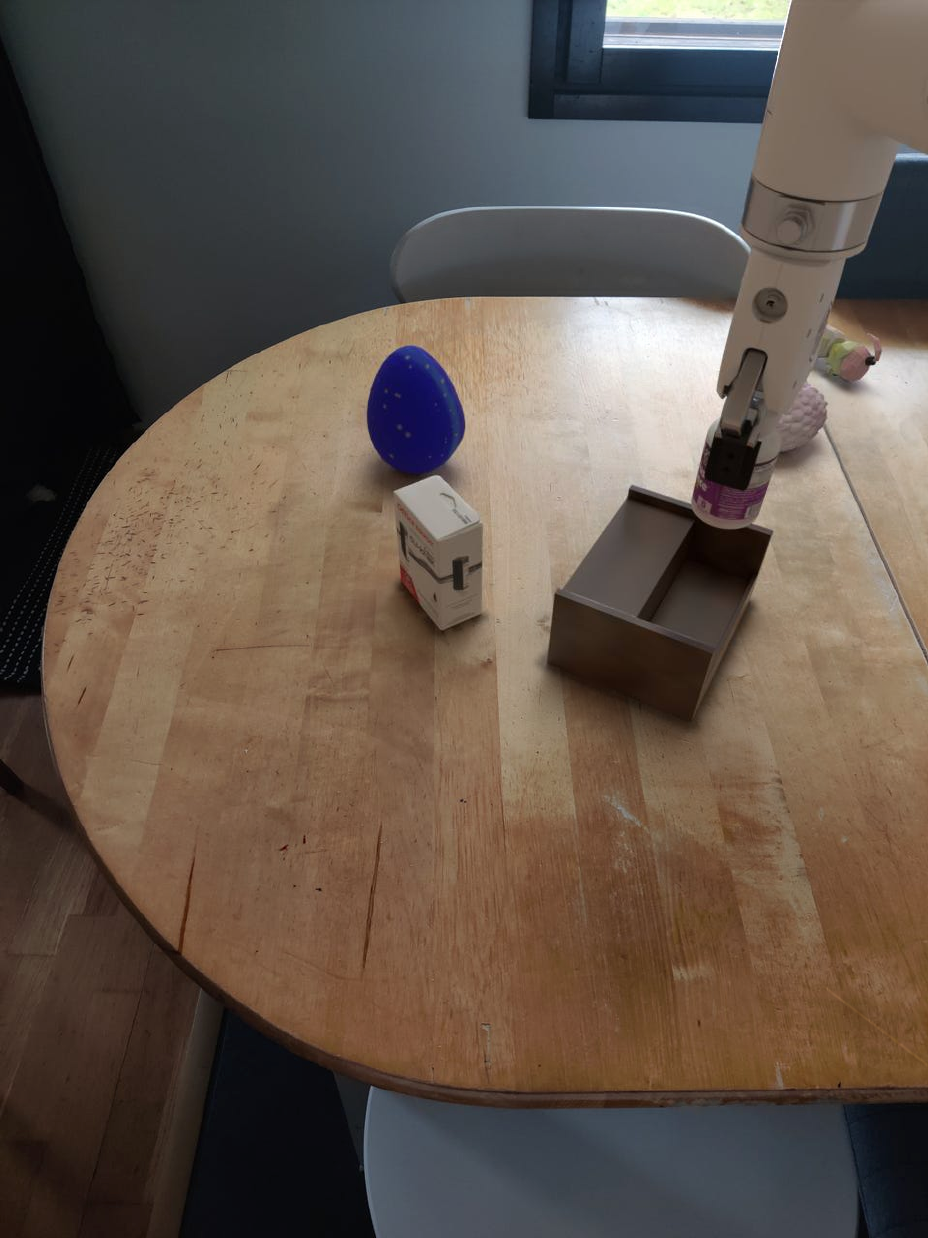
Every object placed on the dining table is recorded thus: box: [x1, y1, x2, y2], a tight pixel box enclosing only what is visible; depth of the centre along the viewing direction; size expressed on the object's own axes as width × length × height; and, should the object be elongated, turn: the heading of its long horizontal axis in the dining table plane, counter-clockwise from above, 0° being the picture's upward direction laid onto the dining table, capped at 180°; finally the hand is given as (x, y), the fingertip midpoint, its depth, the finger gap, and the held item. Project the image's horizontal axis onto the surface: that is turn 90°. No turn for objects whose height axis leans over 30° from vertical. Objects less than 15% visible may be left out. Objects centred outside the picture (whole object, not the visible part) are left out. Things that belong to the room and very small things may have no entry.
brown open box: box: [546, 484, 774, 723], centre depth 79 cm, size 14×18×9 cm
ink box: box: [393, 475, 484, 631], centre depth 81 cm, size 8×5×12 cm, turn 31°
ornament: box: [366, 344, 466, 475], centre depth 96 cm, size 11×9×15 cm
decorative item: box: [777, 381, 829, 452], centre depth 102 cm, size 9×11×10 cm
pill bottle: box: [690, 391, 781, 529], centre depth 64 cm, size 5×5×10 cm
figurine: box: [817, 321, 883, 383], centre depth 115 cm, size 9×7×15 cm
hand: (738, 459), depth 64 cm, fingers closed on pill bottle, 5 cm apart
